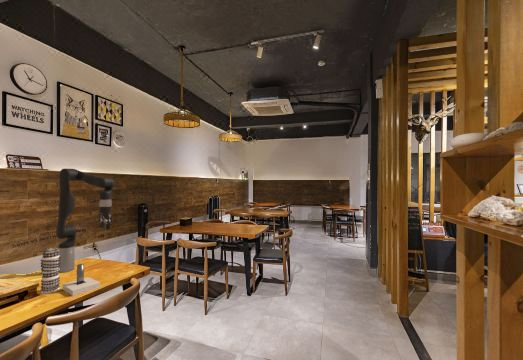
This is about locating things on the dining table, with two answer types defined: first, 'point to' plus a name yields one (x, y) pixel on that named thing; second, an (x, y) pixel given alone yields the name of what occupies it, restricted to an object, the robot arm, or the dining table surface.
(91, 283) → the hole plate
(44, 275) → the tiered tower model
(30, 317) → the dining table surface
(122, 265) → the dining table surface
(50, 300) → the dining table surface
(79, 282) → the metal pin
